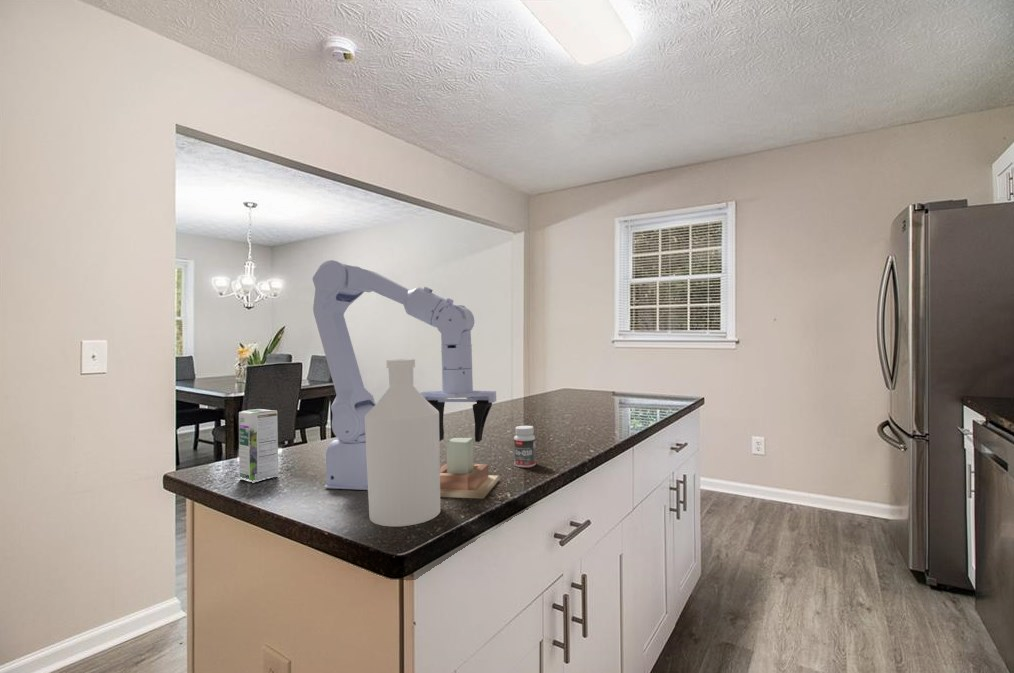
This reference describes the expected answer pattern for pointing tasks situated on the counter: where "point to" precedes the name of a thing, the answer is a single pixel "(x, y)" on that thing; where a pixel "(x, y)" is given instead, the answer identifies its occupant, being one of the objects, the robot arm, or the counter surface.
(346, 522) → the counter surface
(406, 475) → the bottle
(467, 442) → the peg
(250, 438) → the syrup box
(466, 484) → the socket block
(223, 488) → the counter surface
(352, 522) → the counter surface
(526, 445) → the pill bottle
